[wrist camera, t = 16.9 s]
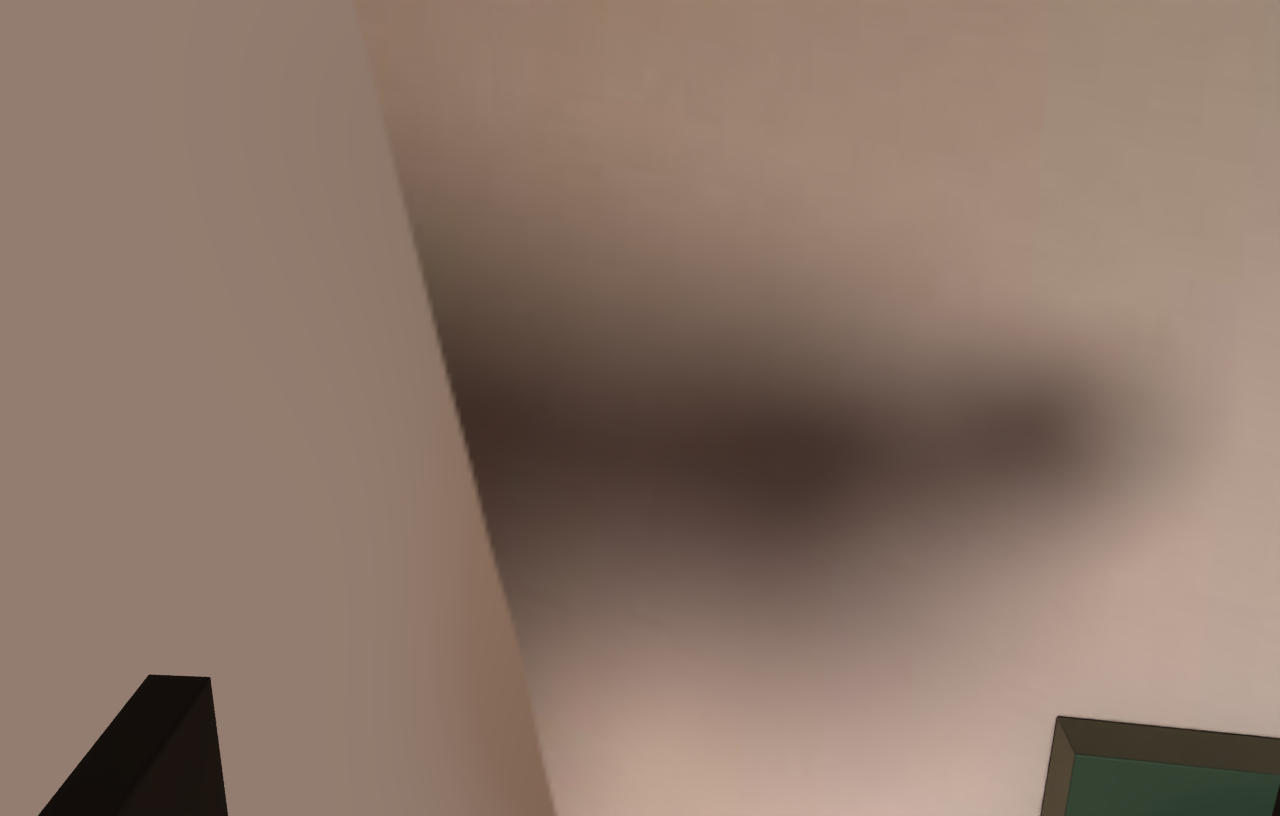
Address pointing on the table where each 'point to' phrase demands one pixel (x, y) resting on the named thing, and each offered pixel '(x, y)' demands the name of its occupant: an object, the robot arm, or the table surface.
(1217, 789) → the button box
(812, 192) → the table surface
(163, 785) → the robot arm
